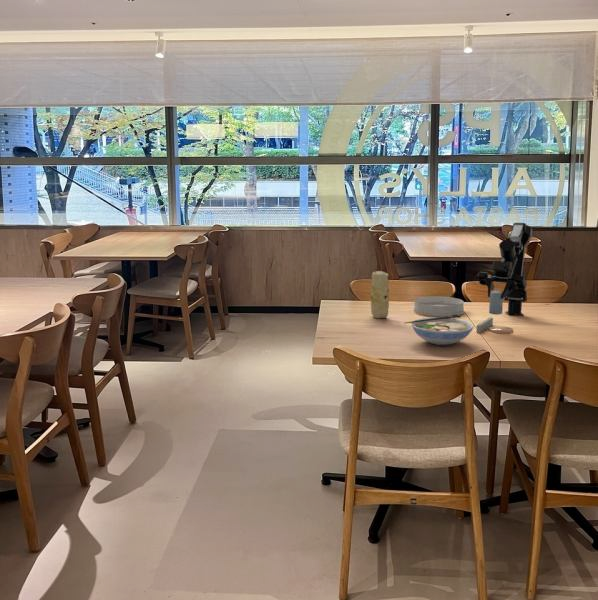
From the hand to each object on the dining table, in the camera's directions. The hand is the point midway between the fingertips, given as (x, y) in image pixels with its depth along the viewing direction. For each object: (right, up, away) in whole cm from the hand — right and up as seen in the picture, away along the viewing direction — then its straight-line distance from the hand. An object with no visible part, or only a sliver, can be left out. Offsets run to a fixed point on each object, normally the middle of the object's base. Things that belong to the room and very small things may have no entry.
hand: (495, 297), depth 267 cm
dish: (-14, -7, +39) cm, 42 cm away
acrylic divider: (-2, -13, +6) cm, 14 cm away
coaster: (+3, -13, +2) cm, 14 cm away
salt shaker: (+1, -6, +2) cm, 7 cm away
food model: (-42, -9, +28) cm, 52 cm away
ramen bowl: (-24, -17, -15) cm, 34 cm away
